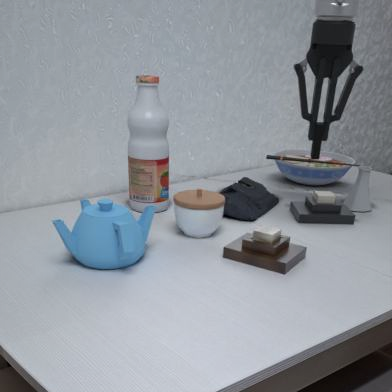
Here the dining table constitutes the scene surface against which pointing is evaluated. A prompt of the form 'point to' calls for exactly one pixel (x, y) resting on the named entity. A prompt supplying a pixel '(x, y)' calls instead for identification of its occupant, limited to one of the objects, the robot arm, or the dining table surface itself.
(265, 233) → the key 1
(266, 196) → the dark slate chunk
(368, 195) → the flask
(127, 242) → the teapot
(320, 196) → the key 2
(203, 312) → the dining table surface
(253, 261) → the block
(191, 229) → the trinket box
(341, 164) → the ramen bowl
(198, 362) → the dining table surface
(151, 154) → the fruit juice
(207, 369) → the dining table surface
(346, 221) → the block
